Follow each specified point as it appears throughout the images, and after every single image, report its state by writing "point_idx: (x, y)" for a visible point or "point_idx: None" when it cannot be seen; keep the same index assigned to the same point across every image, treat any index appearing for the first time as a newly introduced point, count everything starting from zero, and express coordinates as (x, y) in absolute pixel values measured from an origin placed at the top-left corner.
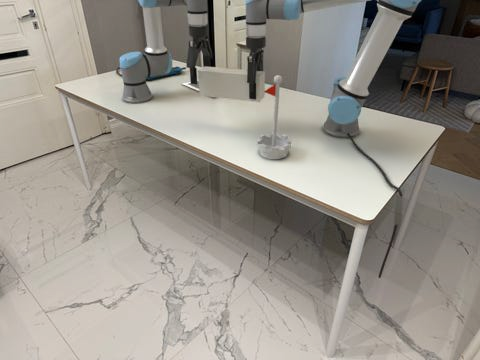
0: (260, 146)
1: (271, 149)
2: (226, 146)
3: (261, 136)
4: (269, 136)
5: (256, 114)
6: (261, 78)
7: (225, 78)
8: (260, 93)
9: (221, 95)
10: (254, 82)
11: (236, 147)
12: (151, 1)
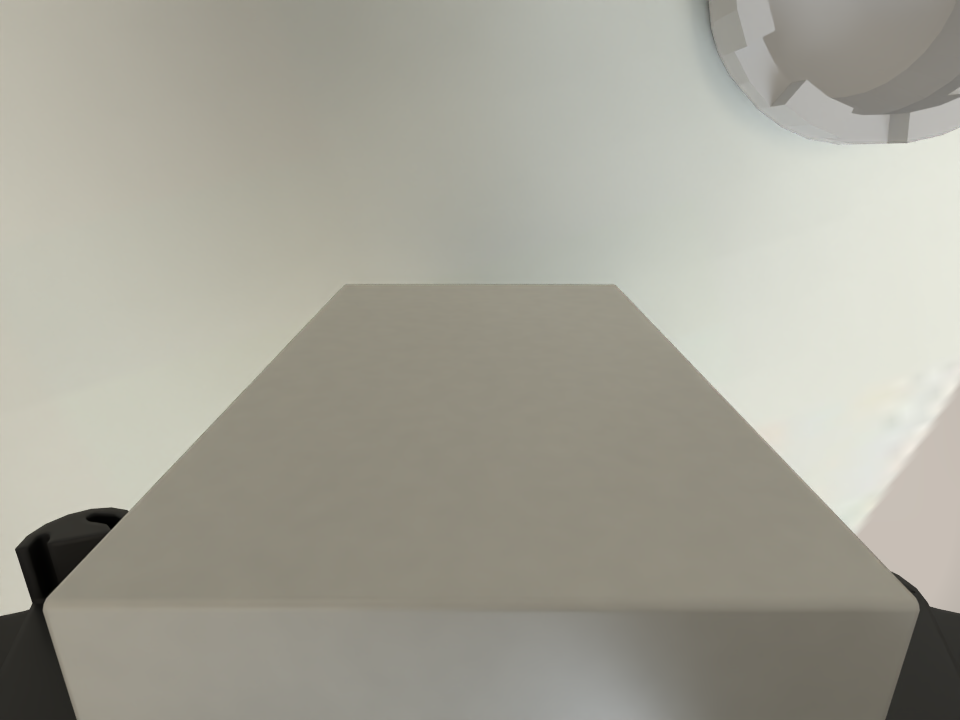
0: None
1: None
2: (786, 401)
3: (847, 117)
4: (762, 49)
5: (101, 377)
6: (653, 493)
7: None
8: (618, 324)
9: None
10: (913, 588)
11: (789, 327)
12: None
